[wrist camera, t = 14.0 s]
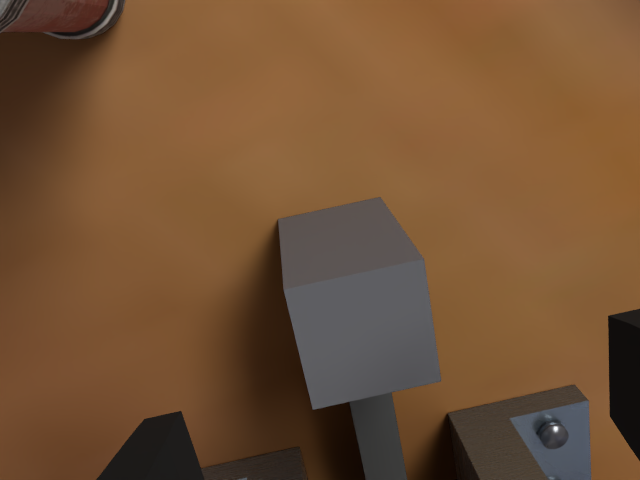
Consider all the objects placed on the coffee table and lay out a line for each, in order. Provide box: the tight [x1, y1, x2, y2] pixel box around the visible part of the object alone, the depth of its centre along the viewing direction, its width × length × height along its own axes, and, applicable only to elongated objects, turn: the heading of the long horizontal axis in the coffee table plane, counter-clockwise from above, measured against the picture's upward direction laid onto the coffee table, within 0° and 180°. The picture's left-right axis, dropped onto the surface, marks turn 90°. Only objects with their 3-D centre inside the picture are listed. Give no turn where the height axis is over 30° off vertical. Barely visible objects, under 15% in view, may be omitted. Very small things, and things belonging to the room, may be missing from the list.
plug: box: [278, 197, 441, 480], centre depth 19 cm, size 17×3×5 cm, turn 11°
